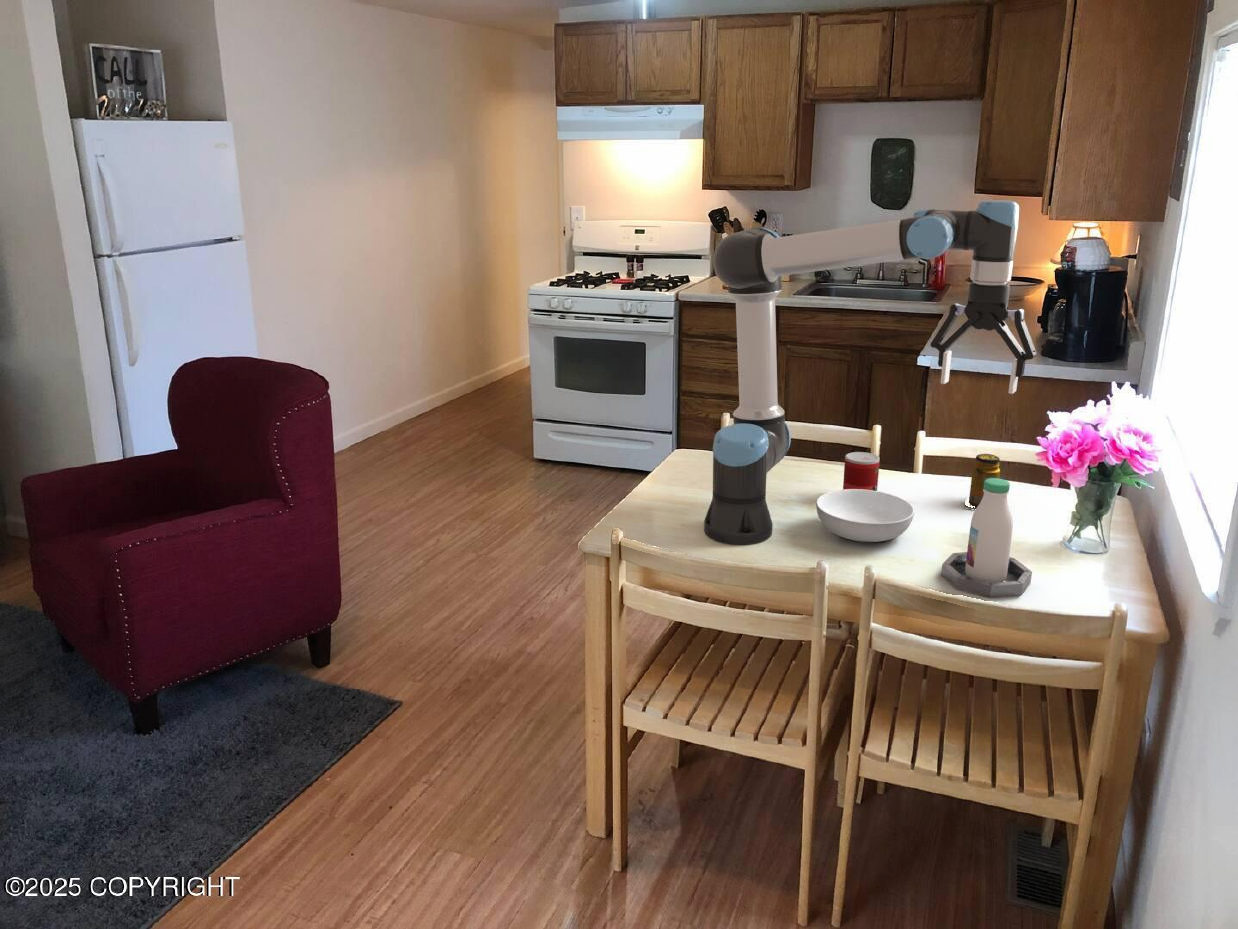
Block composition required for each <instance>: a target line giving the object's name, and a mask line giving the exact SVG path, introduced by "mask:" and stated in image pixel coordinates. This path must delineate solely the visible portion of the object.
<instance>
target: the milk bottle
mask: <svg viewBox="0 0 1238 929" xmlns="http://www.w3.org/2000/svg"><path fill="white" fill-rule="evenodd" d="M1010 487H1011V484H1010V481H1008V480H1006V479H1003V478H999V479H998V478H989V479H986V480H985V481H984V489H983V491H984V496H983V498H982V500H981V502H980V504H979V505H978V507H977V508H976V510H974V512H973V514H972V517H971V522H970V529H969V534H968V540H967V541H968V543H967V550H966V552H967V558H966V566H965V573H966V575H967V577H968V578H972V579H976V580H980V581H984V582H988V583H999V582H1003V581H1004V580H1005V579H1006V576H1007V570H1008V562H1009V557H1010V556H1011V554H1010V552H1011V546H1012V538H1013V528H1014V527H1013V526H1014V525H1013V524H1014V523H1013V522H1014V520H1013V515H1012V512H1011V509H1010V506H1009V504H1008V503H1009V502H1008V495H1009V493H1010V492H1009V491H1010Z"/></svg>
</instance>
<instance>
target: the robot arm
mask: <svg viewBox="0 0 1238 929" xmlns="http://www.w3.org/2000/svg"><path fill="white" fill-rule="evenodd" d="M1019 214H1020V205H1019V204H1018V203H1017V202H1016V201H1013V200H1002V199H1001V200H1000V199H992V200H991V199H990V200H989V199H986V200H984V199H983V200H981V201H979V203H978V206H977V208H976V209H975V210H954V209H953V210H951V209H947V210H946V209H945V210H944V209H934V208H931V209H919V210H916V211H915V212H914V213H913V216H912V217H909V218H904V219H897V220H895V219H894V220H888V221H882V222H881V221H880V222H875V223H869V224H863V225H862V224H861V225H854V226H848V227H841V228H834V229H828V230H821V231H814V232H812V231H811V232H807V233H799V234H794V235H792V234H791V235H786V236H780V235H779V234H777V232H775V231H774V230H771V229H768V228H766V227H765V228H764V227H748V228H746V229H744V230H741V231H738V232H734V233H730V234H728V235H727V236H725V237H724V238H722V240H720V242H719V243H718V244H717V246H716V248H715V250H714V253H713V259H712V264H713V270H714V272H715V275H716V277H717V278H718V279H719V280H720V281H721V282H722V284H724V285H726V286H727V291H728V295H729V296H730V297H731V298H733V299H734V301H735V313H736V314H735V316H736V343H737V346H736V347H737V369H738V370H737V371H738V373H737V374H738V400H739V406H738V407H737V408H736V409H735V410H734V411H733V413H732V417H733V424H732V425H726V426H724V427H721V429H719V430H718V431H717V432H716V433H715V435H714V439H713V444H712V499H711V502H710V503H709V506H708V509H707V512H706V515H705V517H704V521H703V533H704V534H705V535H706V536H707V537H708V538H710V539H711V540H714V541H715V542H718V543H724V544H729V545H752V544H759V543H762V542H765V541H766V540H768V539H769V538H771V537H772V535H773V520H772V517H771V513H770V511H769V507H768V504H767V500H766V498H767V497H766V496H767V494H766V493H767V492H766V491H767V476H768V475H767V474H768V473H769V472H770V471H771V470H772V469H773V468H775V466H776V465H777V464H779V463H780V462H781V461H782V460H783V459H784V458H785V456H786V455H787V453H788V451H789V448H790V446H791V442H792V440H791V439H792V437H791V436H792V435H791V430H790V427H789V425H788V423H787V422H786V415H785V410H784V409H783V407H781V405H779V402H778V371H777V370H778V368H777V367H778V364H777V360H778V358H777V331H776V330H777V329H776V328H777V327H776V326H777V325H776V324H777V322H776V321H777V320H776V298H777V296H778V295H779V294H780V293H781V292H782V289H783V284H782V280H783V279H782V276H790V275H797V274H805V273H811V272H818V271H821V272H822V271H827V270H834V269H835V270H836V269H843V268H850V267H859V266H865V265H872V264H879V263H881V264H882V263H887V262H895V261H896V262H897V261H902V260H903V261H904V260H914V259H924V260H929V259H935V258H938V257H940V256H942V255H943V254H945V253H946V252H947V251H948V250H950V251H953V250H955V251H972V260H971V268H970V278H969V279H970V280H971V282H970V283H969V287H968V296H967V303H966V305H962V304H960V303H959V302H956V303H953V304H951V305H950V308H949V313H948V315H947V317H946V318H945V321H944V322H943V323H942V325H941V326H940V328H939V330H938V331H937V333H936V334H935V336H934V337H933V339H932V340H931V341H930V347H931V348H934V349H936V350H938V361H937V366H938V367H941V376H940V384H941V385H946V384H947V383H948V382H949V381H950V371H951V364H952V355H953V354H952V352H953V351H952V350H949V348H950V347H952V346H953V345H954V344H955V343H956V342H957V341H958V340H959V339H960V338H962V337H963V335H965V333H967V332H968V331H969V330H970V329H972V327H973V328H974V329H975V330H986V331H993V330H995V332H996V333H997V334H999V335H1000V337H1001V339H1002V340H1003V341H1004V342H1005V345H1006V346H1007V347H1008V349H1009V350H1010V351H1011V353H1012V355H1013V357H1015V359H1014V360H1011V361H1012V362H1011V363H1012V364H1011V370H1010V379H1009V385H1008V394H1010V395H1013V394H1015V392H1017V389H1018V388H1017V387H1018V383H1019V382H1018V379H1019V378H1022V377H1023V376H1024V374H1025V368H1026V361H1027V360H1032V359H1034V358H1036V356H1037V355H1038V353H1037V351H1036V348H1035V345H1034V343H1033V340H1032V337H1031V335H1030V332H1029V329H1028V326H1027V324H1026V321H1025V310H1024V309H1023V308H1020V309H1019V308H1018V309H1011V310H1010V309H1009V300H1010V299H1009V298H1010V291H1011V285H1010V283H1008V282H1010V281H1011V280H1012V273H1013V266H1014V256H1015V248H1016V244H1017V243H1016V242H1017V236H1018V230H1019ZM963 312H964V315H965V316H966V318H967V320H966V321H965V322H964V323H963V324H962V325H961V326H960V327H959V328H958V329H957V330H956V331H954V332H953V334H952V335H951V336H949V337H948V338H947V339H946V340H945V341H944V342H943V340H944V339H945V337H946V336H947V334H948V332H949V331H950V330H951V327H952V326H953V325H954V324H955V322H956V320H957V318H958V317H959V316H961V315H962V314H963ZM1008 317H1009V318H1010V319H1011V321H1013V322H1014V326H1015V328H1016V331H1017V335H1018V337H1019V340H1020V342H1021V345H1022V346H1021V345H1020V344H1019V342H1018V340H1017V339H1016V337H1015V336H1014V335H1013V333H1012V332H1011V330H1010V328H1009V326H1008V324H1007V323H1006V322H1005V321H1006V320H1007V318H1008ZM1022 347H1023V348H1022Z"/></svg>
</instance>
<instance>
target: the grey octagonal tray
mask: <svg viewBox="0 0 1238 929" xmlns="http://www.w3.org/2000/svg"><path fill="white" fill-rule="evenodd" d="M966 558H967V551H965V552H964V551H962V552H953V553H952V554H950V555H949V556H948V558H947V559H945V561H944V562H942V564H941V572H940V573H941V574H940V576H941V577H942V578H943V579H944V580H946V581H947V582H948V583H949V584H950V585H951V586H952V588H954V589H955V590H956V591H957V590H958V591H961V592H966V593H969V594H973V595H977V596H981V597H983V598H989V599H994V598H1005V597H1007V598H1008V597H1020V596H1022V595H1023V594H1024V593H1025V591H1026V590H1027V589H1028V587H1029V586H1030V585H1031V583H1032V576H1033V571H1032V570H1030V569H1029V568H1028V567H1027V566H1025V565H1024V564H1023V563H1022V562H1020V561H1019V560H1018V559H1016V558H1015V557H1010V556H1009V562H1008V570H1007V576H1006V579H1005V580H1004V581H1003V582H999V583H988V582H984V581H980V580H976V579H972V578H968V577H967V575H966V573H965V566H966Z"/></svg>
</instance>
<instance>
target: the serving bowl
mask: <svg viewBox="0 0 1238 929" xmlns="http://www.w3.org/2000/svg"><path fill="white" fill-rule="evenodd" d="M815 507H816V508H815V509H816V513H817V516H818V519H819V521H820V522H821V524H822V525H823V526H824V527H825V528H826V529H827V530H828V531H830V532H831V533H832V534H834V535H837V536H839V537H842V538H844V539H847V540H851V541H856V542H863V543H864V542H869V543H871V542H873V543H876V542H877V543H878V542H884V541H890V540H892V539H895V538H897V537H899V536H901V535H902V534H904V533H905V532H906V531H907V530H908V529H909V527H911V523H912V522H913V519H914V516H915V508H914V506H913V505H912V504H911V503H910V502H908V500H906V499H903V498H901V497H899V496H897V495H894V494H891V493H887V492H883V491H879V490H877V491H873V490H863V489H845V490H843V489H837V490H831V491H829V492H825V493H824V494H821V495H819V497H817V499H816V501H815Z"/></svg>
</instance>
